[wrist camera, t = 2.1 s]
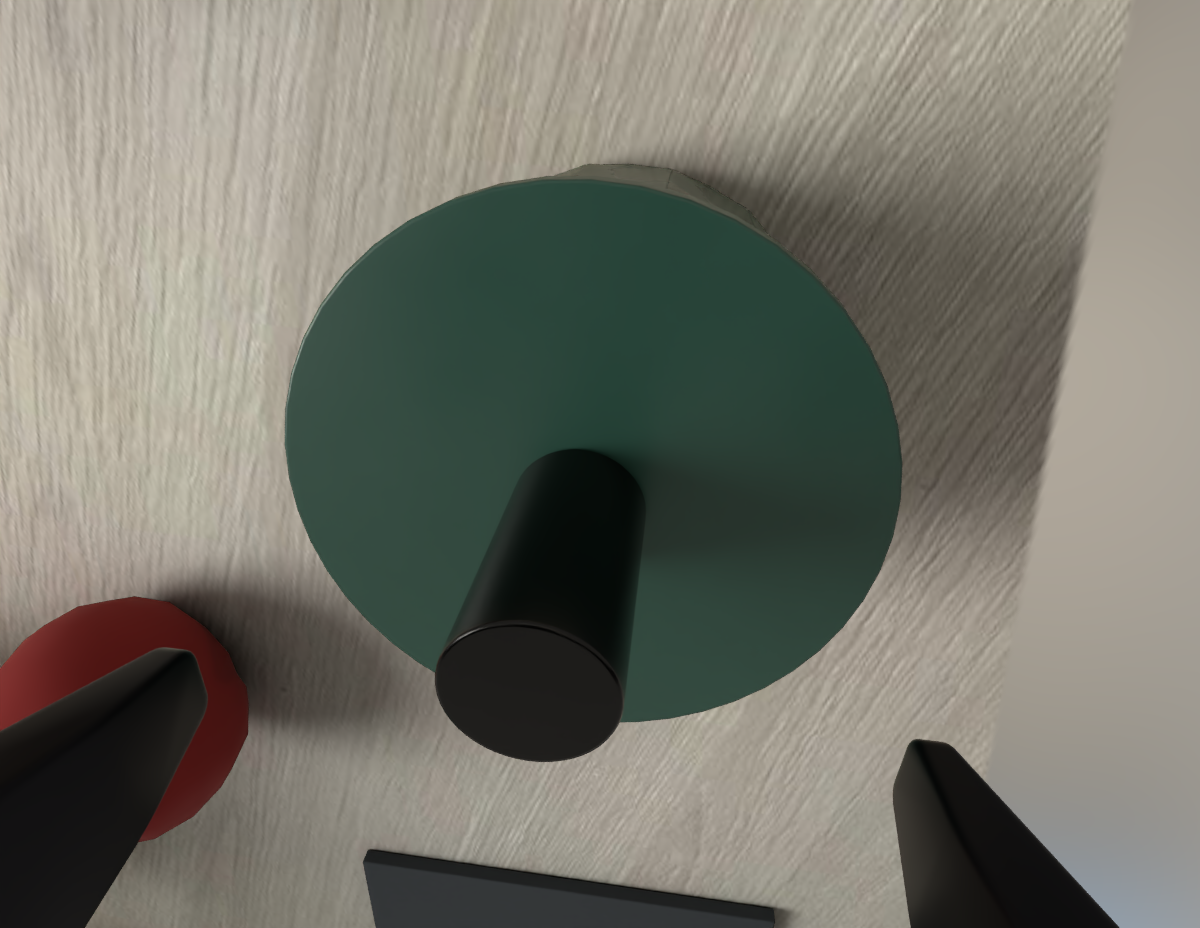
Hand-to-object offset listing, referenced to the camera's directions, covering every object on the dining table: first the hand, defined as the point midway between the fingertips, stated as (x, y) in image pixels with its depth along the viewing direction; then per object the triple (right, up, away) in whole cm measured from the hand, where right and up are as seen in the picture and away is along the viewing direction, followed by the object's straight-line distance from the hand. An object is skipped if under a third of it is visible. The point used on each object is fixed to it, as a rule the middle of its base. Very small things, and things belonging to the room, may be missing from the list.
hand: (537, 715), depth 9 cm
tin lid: (0, +3, +4) cm, 5 cm away
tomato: (-15, -4, +18) cm, 24 cm away
